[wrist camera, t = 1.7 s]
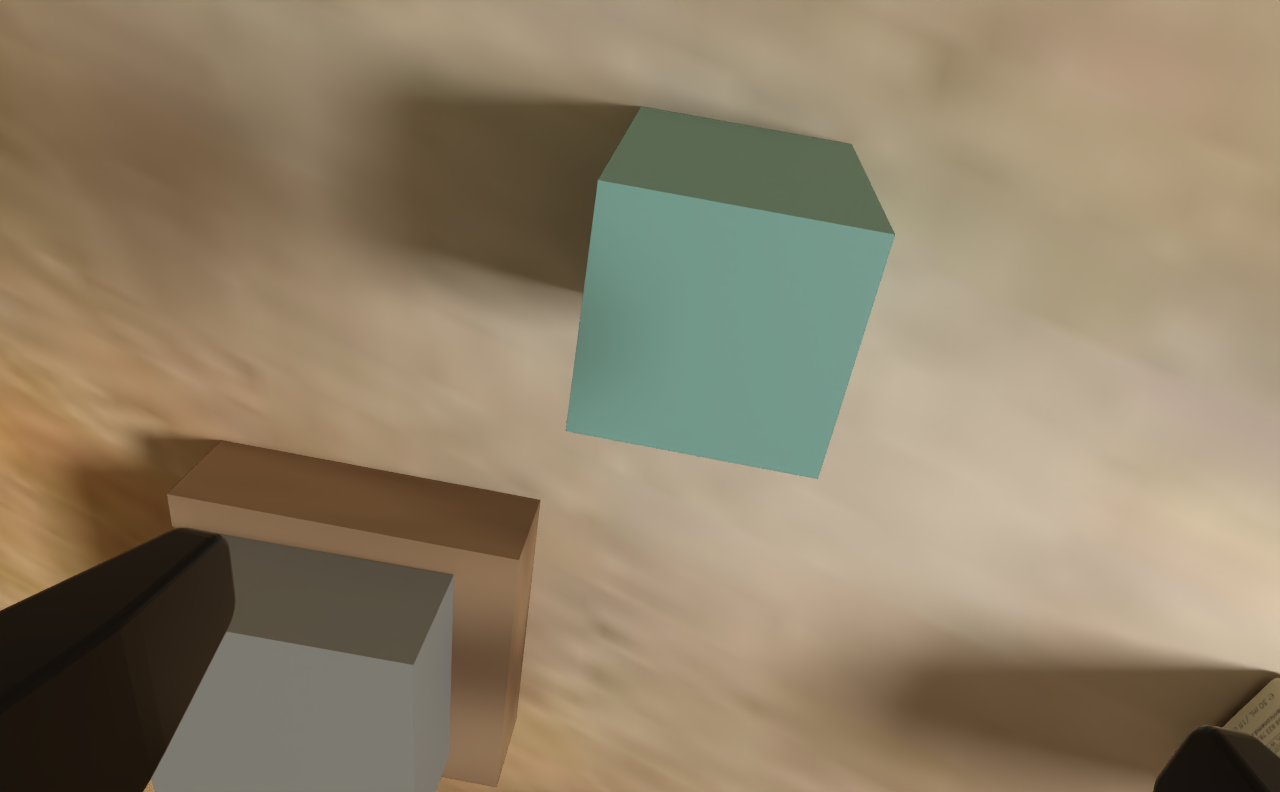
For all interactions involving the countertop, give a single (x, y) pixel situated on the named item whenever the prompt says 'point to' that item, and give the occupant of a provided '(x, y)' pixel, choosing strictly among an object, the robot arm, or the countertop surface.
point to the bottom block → (396, 561)
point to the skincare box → (1261, 717)
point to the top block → (321, 680)
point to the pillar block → (726, 291)
